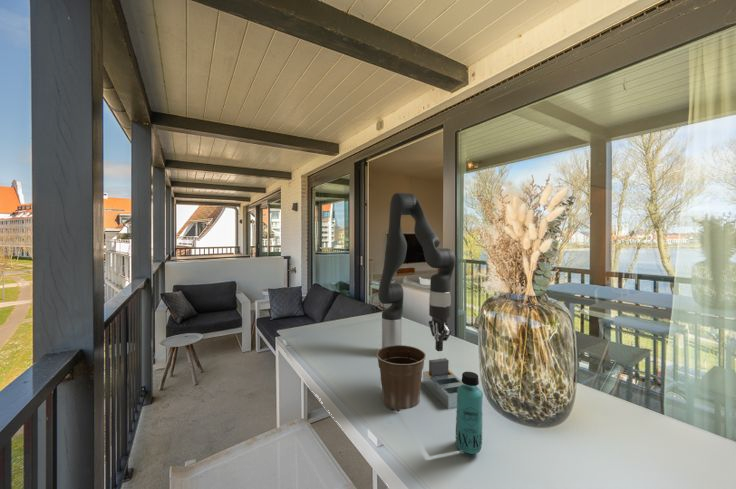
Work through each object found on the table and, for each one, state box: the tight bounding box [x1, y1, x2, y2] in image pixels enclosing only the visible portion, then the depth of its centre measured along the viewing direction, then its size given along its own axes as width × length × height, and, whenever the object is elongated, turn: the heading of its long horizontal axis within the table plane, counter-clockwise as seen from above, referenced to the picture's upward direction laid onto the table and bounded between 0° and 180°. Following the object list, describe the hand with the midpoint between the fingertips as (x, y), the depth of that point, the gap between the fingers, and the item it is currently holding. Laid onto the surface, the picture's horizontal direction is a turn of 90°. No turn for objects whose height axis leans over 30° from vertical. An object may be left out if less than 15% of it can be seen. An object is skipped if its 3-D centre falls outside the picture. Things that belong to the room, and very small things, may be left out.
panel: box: [428, 357, 449, 377], centre depth 110 cm, size 2×7×9 cm, turn 107°
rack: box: [422, 369, 464, 410], centre depth 105 cm, size 18×10×5 cm, turn 16°
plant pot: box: [375, 344, 427, 412], centre depth 100 cm, size 16×16×16 cm
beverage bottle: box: [455, 371, 484, 455], centre depth 77 cm, size 6×7×20 cm
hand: (439, 350), depth 110 cm, fingers closed
